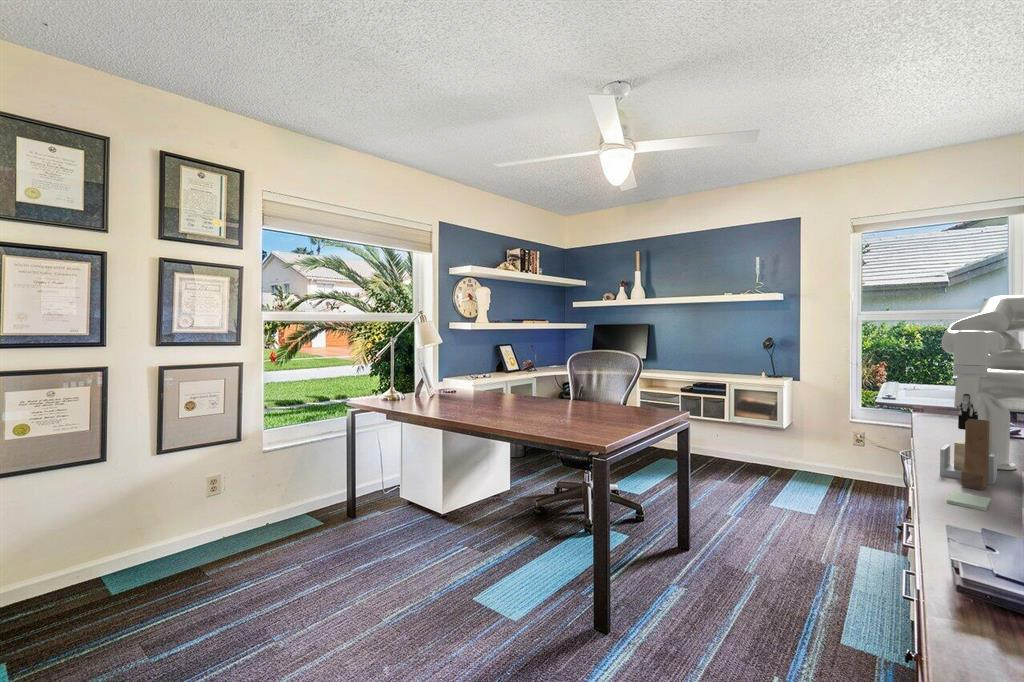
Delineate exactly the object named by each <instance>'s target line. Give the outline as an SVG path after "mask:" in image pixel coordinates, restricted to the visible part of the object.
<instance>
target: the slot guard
mask: <svg viewBox="0 0 1024 682" xmlns="http://www.w3.org/2000/svg"><path fill="white" fill-rule="evenodd" d="M997 455H998V451H992V452H991V454H990V455H989V478H988V483H987V484H989V485H994V483H995V482H996V481H997V478H998V469H997ZM939 458H940V459H939V476H942V477H948V478H953V479H954V478H955V479H960V480H961V472H962V470H958V469H954V463H951V444H949V443H948V444H947V443H946V444H944V445H943V446H942V447H941V448H940V453H939Z"/></svg>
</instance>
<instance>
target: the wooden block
mask: <svg viewBox="0 0 1024 682" xmlns="http://www.w3.org/2000/svg"><path fill="white" fill-rule="evenodd" d="M989 431H990V422H989V421H987V420H978V419H968V420H967V421H966V422H965V430H964V432H965V433H964V434H965V436H964V438H965V439H964V442H965V461H964V467H963V470H962V472H961V479H960V486H961V487H963V488H966V489H967V488H968V489H973V490H977V491H983V490H984V489H985V487H986V486H987V484H988V478H989Z"/></svg>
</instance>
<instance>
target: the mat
mask: <svg viewBox="0 0 1024 682" xmlns="http://www.w3.org/2000/svg"><path fill="white" fill-rule="evenodd" d="M991 501H992V499H991V498H990V497H985V496H980V495H975V494H971V493H970V494H969V493H965V492H964V493H963V492H959V491H952V492H951V494H949V496H948V497H947V499H946V503H947V504H951V505H954V506H960V507H964V508H966V507H967V508H971V509H975V510H980V511H985V512H986V511H987V510H988V507H989V506H990V504H991Z"/></svg>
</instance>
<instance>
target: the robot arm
mask: <svg viewBox="0 0 1024 682" xmlns="http://www.w3.org/2000/svg"><path fill="white" fill-rule="evenodd" d="M1008 332H1024V294H1020V295H1019V294H1015V295H997V296H993V297H990V298H988V299H986V300H985V301H984V302H983V304H982V305H981V306H980V309H978V312H976V314H973V315H970V316H968V317H965V318H962V319H959V320H957V321H955V322H953V323H951V324H950V325H949V326H948V327H947V329H946V330H945V331H944V333H943V335H942V338H941V343H940V344H941V349H942V350H943V351H944V352H945V353H947V354H949V355H953V366H952V367H953V368H952V375H953V376H956V383H955V393H954V403H953V404H954V405H953V406H954V408H955V409H959V414H958V419H957V420H958V423H957V427H958V430H964V431H965V422H966V421H967V420H968V419H978V420H987V421H989V422H990V431H989V455H990V454H991V452H992V451H998V455H997V470H1002V471H1003V470H1005V471H1007V470H1008V471H1010V470H1011V471H1013V470H1016V469H1017V465H1016V464H1015V463H1014V462H1010V444H1011V443H1010V439H1011V438H1010V437H1011V412H1010V410H1009V409H1008V407H1007V406H1006V405H1005V404H1004V403H1003V402H1002V401H1001V400H1012V401H1022V402H1024V348H1022V344H1021V342H1020V341H1019V340H1018V339H1017V338H1016V337H1014V336H1013V335H1012V334H1010V333H1008Z"/></svg>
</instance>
